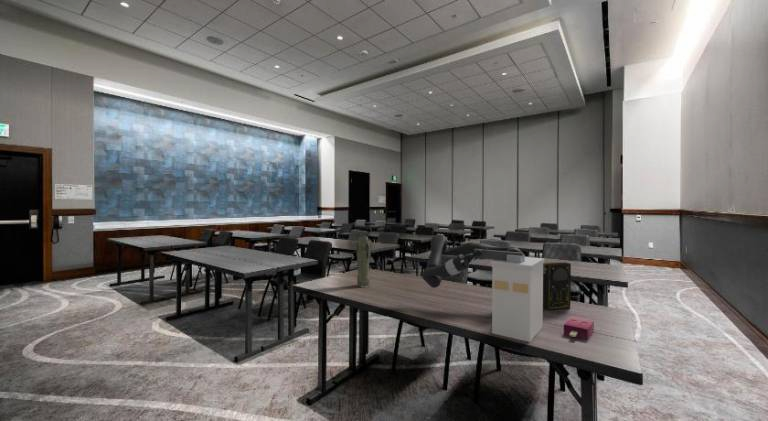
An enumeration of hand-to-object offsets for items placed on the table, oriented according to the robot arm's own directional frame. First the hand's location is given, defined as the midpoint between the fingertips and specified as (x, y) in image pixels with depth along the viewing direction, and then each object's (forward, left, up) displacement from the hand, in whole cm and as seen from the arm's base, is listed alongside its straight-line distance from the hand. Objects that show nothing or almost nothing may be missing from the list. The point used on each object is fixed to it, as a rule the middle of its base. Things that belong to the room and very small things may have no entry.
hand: (484, 251), depth 158 cm
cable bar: (-3, +5, -3) cm, 7 cm away
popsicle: (-32, +23, -36) cm, 54 cm away
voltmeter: (-55, -9, -36) cm, 66 cm away
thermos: (+27, -97, -36) cm, 106 cm away
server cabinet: (-11, +9, -35) cm, 38 cm away
